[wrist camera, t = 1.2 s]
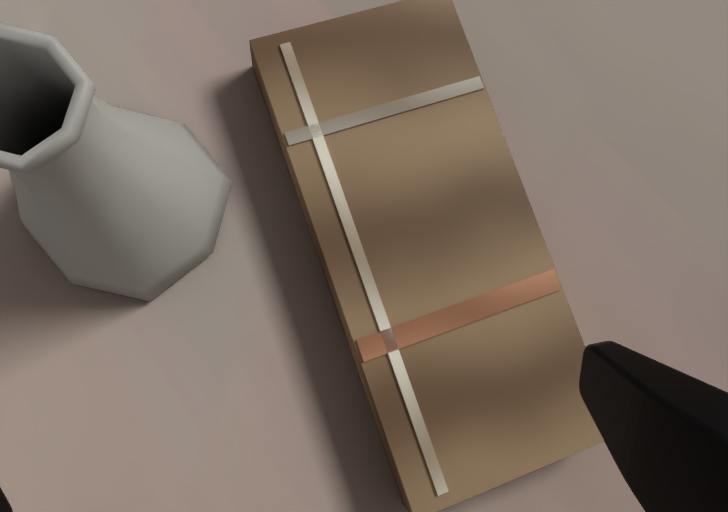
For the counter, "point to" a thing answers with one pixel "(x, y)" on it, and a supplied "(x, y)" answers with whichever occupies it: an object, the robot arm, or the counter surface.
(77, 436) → the counter surface
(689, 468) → the robot arm
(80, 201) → the flask
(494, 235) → the walnut board
